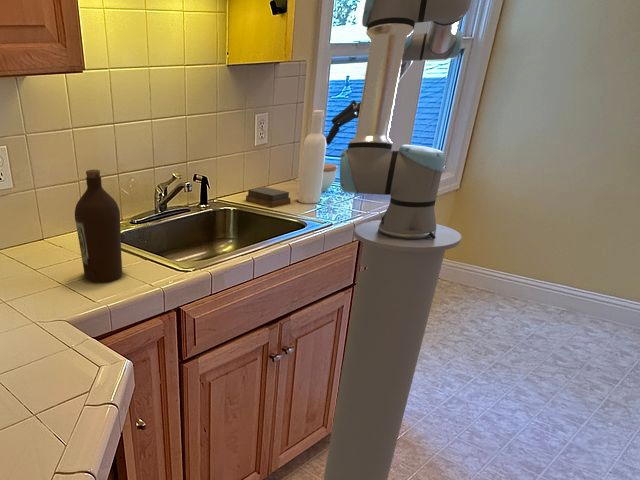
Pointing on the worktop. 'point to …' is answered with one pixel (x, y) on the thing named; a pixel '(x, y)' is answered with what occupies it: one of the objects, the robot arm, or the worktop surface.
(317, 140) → the bottle
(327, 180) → the lidded bowl
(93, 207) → the olive oil
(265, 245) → the worktop surface
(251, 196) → the sharpening stone
